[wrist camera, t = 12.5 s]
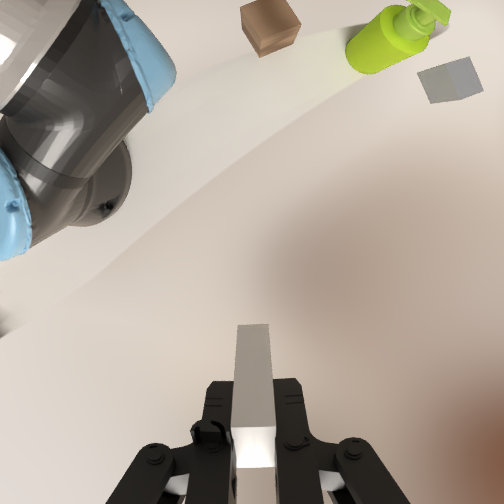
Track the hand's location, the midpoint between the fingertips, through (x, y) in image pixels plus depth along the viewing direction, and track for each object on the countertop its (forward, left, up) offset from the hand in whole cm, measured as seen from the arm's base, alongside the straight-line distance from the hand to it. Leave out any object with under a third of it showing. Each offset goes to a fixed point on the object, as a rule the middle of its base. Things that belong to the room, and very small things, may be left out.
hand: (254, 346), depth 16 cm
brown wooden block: (+3, +25, -30) cm, 39 cm away
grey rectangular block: (+28, +20, -30) cm, 45 cm away
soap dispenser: (+16, +23, -30) cm, 41 cm away
